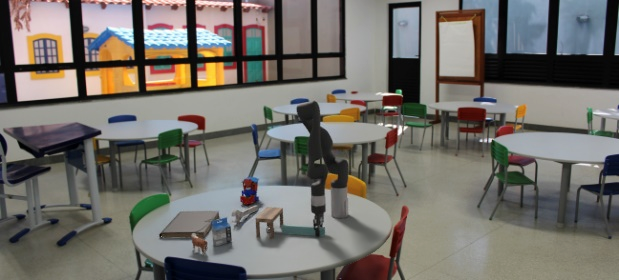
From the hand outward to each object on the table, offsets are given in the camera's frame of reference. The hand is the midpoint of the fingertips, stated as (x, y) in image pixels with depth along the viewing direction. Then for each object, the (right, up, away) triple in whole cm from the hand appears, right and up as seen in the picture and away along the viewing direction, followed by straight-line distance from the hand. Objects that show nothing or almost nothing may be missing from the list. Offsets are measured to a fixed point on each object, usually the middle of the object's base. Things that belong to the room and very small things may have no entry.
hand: (319, 234), depth 274 cm
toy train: (-42, +10, +58) cm, 72 cm away
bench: (-26, 0, +7) cm, 27 cm away
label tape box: (-49, -4, -6) cm, 49 cm away
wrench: (-41, +4, +30) cm, 51 cm away
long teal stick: (-8, -1, +2) cm, 9 cm away
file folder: (-70, 0, +18) cm, 72 cm away
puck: (-26, 0, +7) cm, 27 cm away
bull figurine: (-58, -6, -16) cm, 61 cm away
